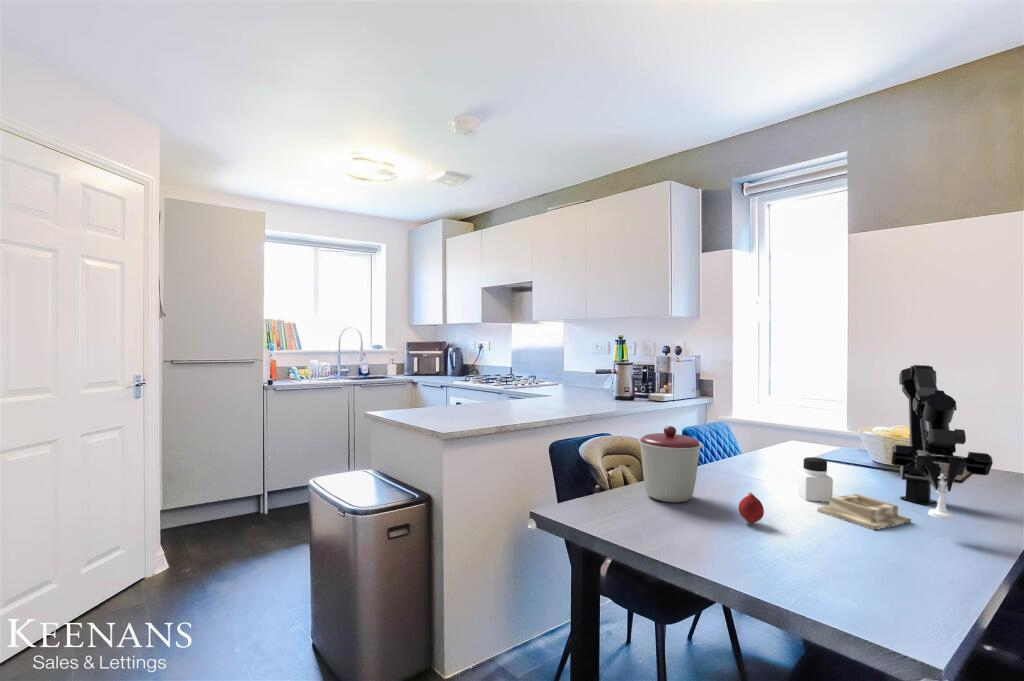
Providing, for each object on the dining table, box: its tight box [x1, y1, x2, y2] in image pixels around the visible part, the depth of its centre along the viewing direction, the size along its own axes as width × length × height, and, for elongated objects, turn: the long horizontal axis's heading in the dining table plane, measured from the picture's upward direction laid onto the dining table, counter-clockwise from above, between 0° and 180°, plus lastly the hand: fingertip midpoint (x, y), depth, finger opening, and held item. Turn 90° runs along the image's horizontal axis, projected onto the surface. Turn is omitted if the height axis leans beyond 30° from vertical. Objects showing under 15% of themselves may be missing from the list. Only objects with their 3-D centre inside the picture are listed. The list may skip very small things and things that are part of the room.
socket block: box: [816, 493, 912, 530], centre depth 138 cm, size 15×15×4 cm
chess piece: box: [927, 473, 955, 520], centre depth 123 cm, size 5×5×10 cm
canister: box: [638, 425, 703, 503], centre depth 152 cm, size 18×18×21 cm
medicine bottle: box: [797, 456, 834, 503], centre depth 154 cm, size 7×7×12 cm
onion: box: [738, 491, 765, 525], centre depth 131 cm, size 6×6×8 cm
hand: (943, 489), depth 122 cm, fingers closed on chess piece
